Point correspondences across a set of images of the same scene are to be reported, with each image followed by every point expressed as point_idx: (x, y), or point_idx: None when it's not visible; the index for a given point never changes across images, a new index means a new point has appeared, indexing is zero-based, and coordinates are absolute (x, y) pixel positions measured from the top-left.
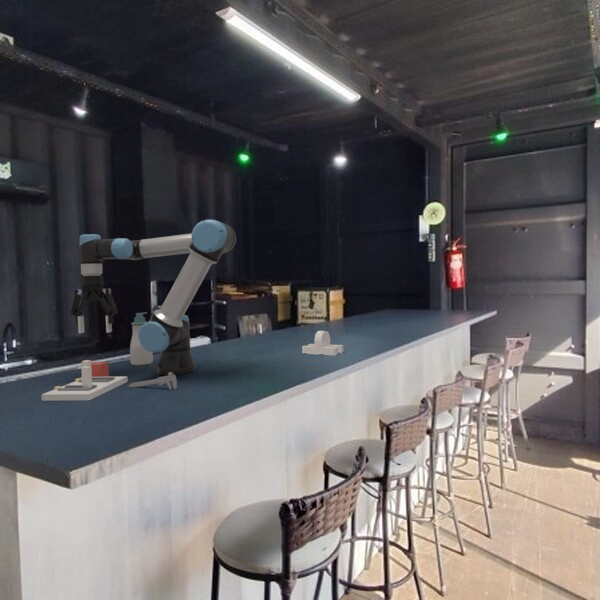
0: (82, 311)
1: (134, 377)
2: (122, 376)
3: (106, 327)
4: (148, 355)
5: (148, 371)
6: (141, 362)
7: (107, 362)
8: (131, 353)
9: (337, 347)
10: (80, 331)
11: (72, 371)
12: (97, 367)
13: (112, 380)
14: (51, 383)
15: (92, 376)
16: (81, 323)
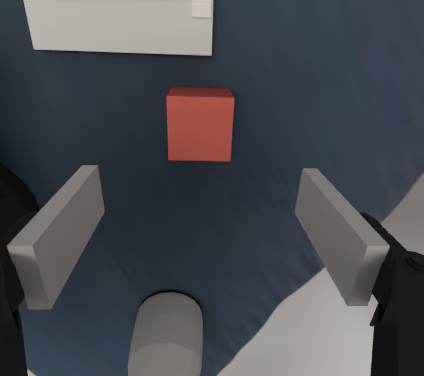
0: (377, 337)
1: (68, 126)
2: (55, 49)
3: (81, 183)
4: (135, 325)
5: None
6: (155, 298)
7: (168, 154)
8: (187, 325)
9: None
10: (307, 174)
11: None
12: (181, 94)
13: None
14: (344, 44)
15: (205, 89)
16: (326, 223)
